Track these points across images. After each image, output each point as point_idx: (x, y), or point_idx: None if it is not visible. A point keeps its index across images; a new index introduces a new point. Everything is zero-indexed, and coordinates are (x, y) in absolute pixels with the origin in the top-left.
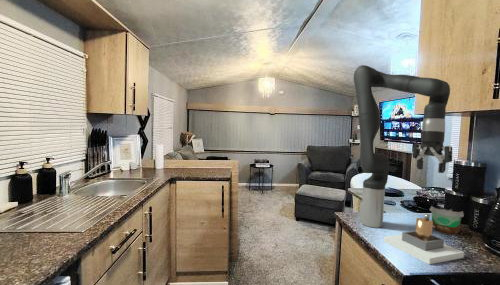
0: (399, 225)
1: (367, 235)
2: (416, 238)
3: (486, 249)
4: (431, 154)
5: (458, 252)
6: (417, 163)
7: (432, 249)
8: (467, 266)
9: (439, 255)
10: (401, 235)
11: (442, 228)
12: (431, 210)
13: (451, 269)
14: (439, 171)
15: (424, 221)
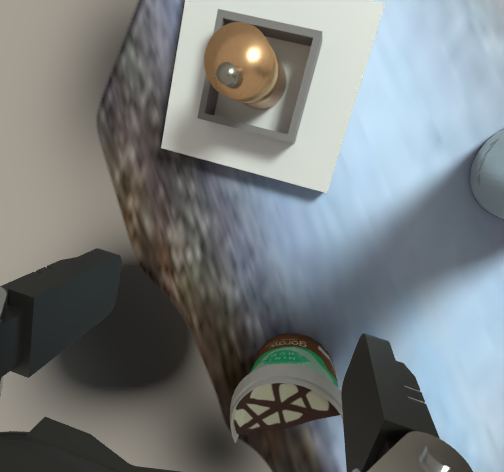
0: (426, 274)
1: (465, 6)
2: (256, 17)
3: (162, 286)
4: (60, 460)
5: (167, 125)
6: (416, 406)
7: None
8: (139, 86)
9: (186, 30)
10: (347, 98)
11: (289, 340)
12: (335, 389)
13: (152, 10)
14: (100, 252)
15: (228, 36)
